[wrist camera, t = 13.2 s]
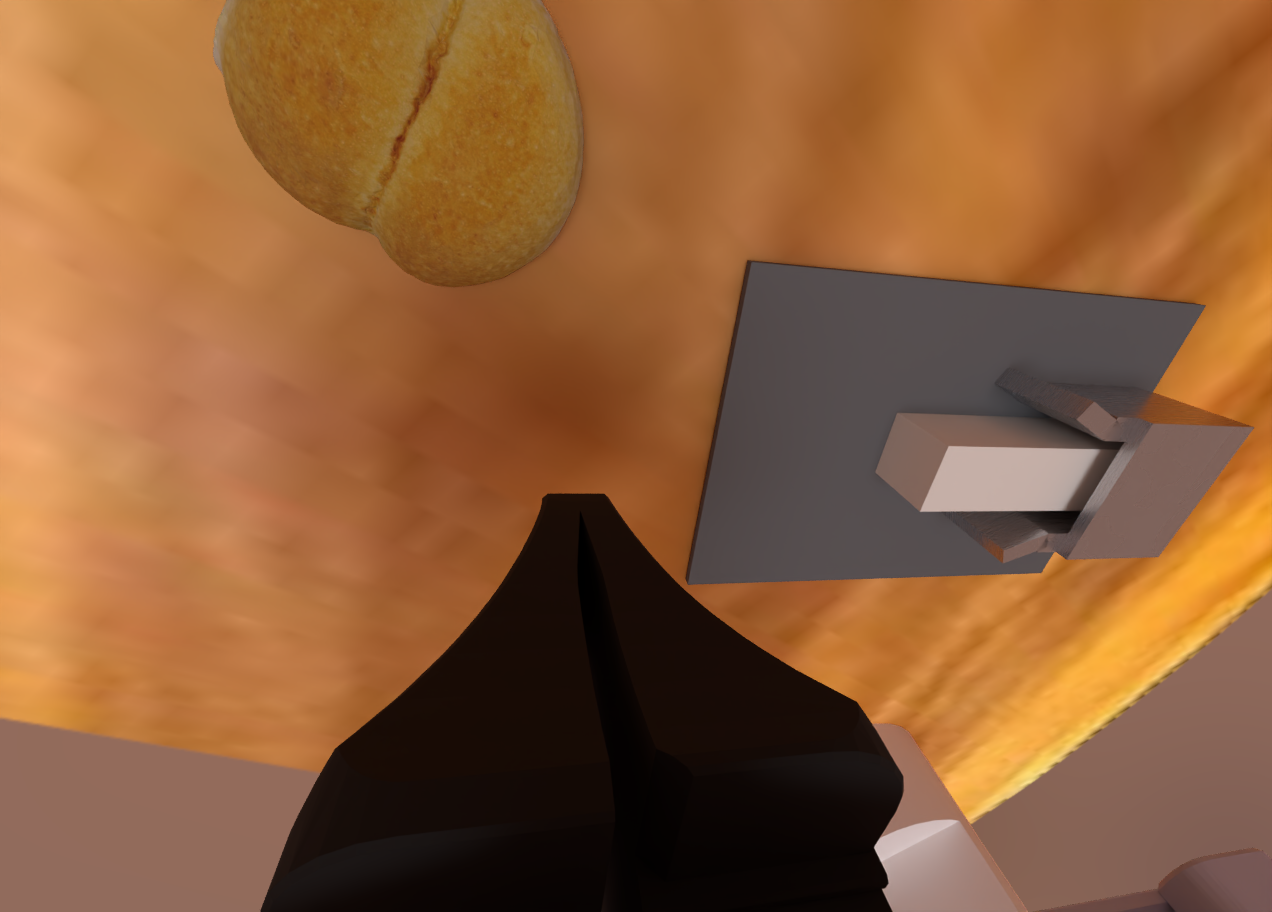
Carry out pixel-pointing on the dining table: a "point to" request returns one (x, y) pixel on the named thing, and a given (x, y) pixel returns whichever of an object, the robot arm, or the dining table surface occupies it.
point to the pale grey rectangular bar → (993, 463)
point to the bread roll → (413, 123)
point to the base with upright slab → (935, 844)
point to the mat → (886, 410)
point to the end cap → (1115, 473)
